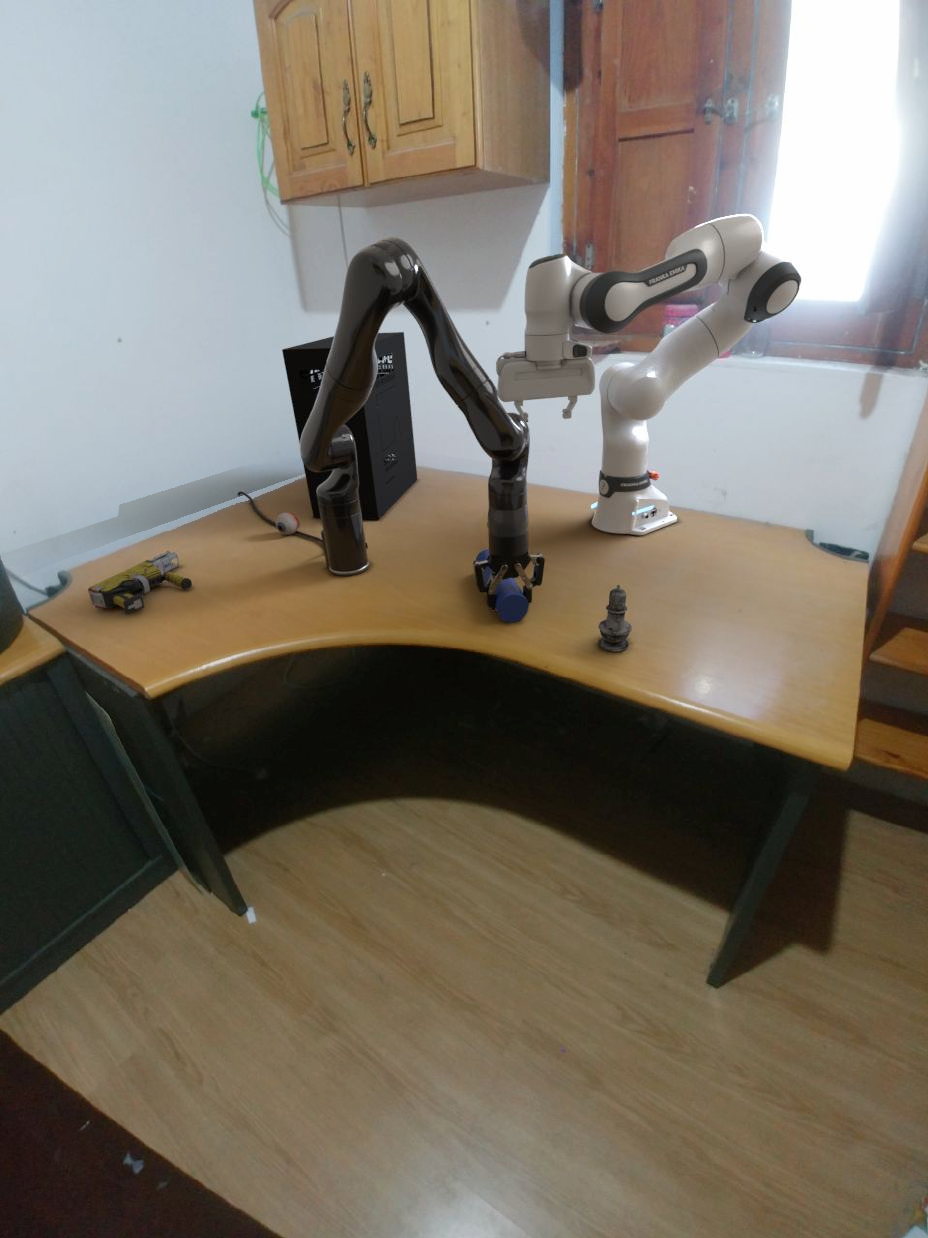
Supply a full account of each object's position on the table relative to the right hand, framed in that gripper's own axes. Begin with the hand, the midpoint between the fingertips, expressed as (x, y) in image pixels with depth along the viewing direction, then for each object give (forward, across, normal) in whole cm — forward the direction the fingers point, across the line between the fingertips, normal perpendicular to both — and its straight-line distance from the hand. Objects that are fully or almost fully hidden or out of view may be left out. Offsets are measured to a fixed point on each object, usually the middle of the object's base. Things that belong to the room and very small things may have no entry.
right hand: (545, 420), depth 128 cm
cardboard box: (+32, -39, +58) cm, 77 cm away
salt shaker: (+32, +1, -40) cm, 51 cm away
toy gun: (+32, -90, +7) cm, 95 cm away
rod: (+32, -14, -17) cm, 39 cm away
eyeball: (+32, -62, +34) cm, 77 cm away
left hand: (+30, -14, -25) cm, 41 cm away
